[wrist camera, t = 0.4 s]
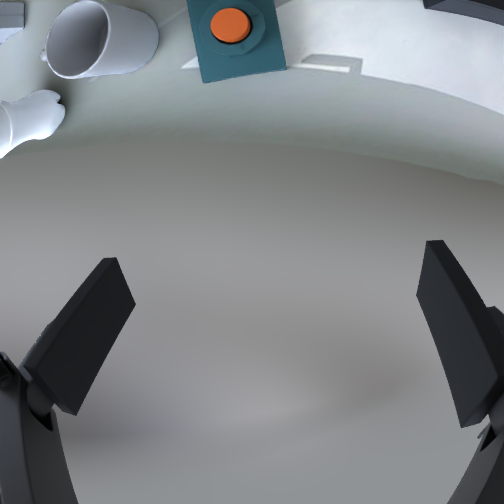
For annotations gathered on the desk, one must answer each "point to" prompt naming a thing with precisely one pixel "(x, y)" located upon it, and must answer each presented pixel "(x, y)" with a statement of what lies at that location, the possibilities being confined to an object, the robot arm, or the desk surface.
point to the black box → (471, 8)
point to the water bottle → (29, 119)
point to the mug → (99, 40)
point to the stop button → (230, 25)
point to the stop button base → (244, 51)
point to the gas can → (10, 19)
